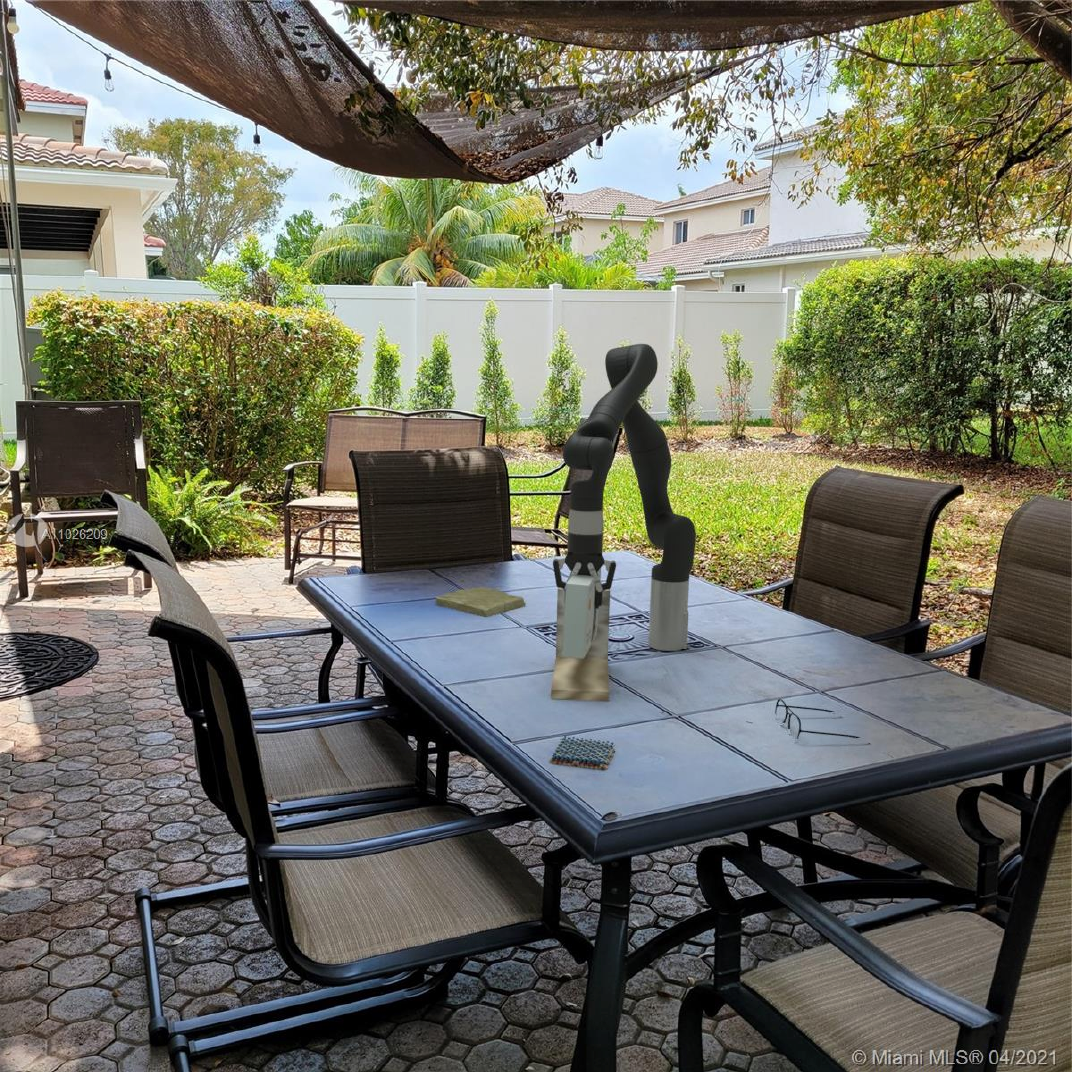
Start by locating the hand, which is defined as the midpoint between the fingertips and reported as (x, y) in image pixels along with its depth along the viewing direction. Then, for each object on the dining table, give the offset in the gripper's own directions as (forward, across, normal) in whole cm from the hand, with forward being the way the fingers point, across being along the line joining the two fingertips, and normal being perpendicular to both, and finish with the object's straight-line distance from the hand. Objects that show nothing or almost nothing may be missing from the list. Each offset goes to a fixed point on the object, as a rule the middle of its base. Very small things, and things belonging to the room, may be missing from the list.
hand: (582, 607), depth 214 cm
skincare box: (+9, 0, 0) cm, 9 cm away
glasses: (+18, -47, +23) cm, 56 cm away
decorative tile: (+18, +29, -65) cm, 74 cm away
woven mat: (+18, -1, +42) cm, 45 cm away
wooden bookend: (+17, 0, 0) cm, 17 cm away
